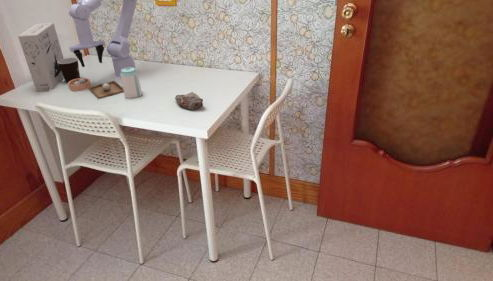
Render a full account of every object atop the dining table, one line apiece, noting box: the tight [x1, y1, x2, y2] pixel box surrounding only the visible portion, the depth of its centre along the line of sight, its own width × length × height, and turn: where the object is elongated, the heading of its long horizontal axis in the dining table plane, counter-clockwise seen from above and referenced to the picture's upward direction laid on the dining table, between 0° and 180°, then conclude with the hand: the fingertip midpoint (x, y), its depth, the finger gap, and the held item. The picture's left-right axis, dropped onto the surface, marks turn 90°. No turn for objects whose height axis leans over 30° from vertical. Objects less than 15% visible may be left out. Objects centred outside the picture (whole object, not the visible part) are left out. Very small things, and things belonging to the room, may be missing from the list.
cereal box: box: [18, 22, 65, 93], centre depth 173 cm, size 22×8×25 cm, turn 6°
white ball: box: [102, 82, 110, 91], centre depth 166 cm, size 3×3×3 cm
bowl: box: [67, 77, 92, 92], centre depth 171 cm, size 9×9×3 cm
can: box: [120, 67, 143, 99], centre depth 159 cm, size 7×7×12 cm
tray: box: [87, 80, 124, 100], centre depth 167 cm, size 12×14×1 cm
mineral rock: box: [174, 91, 204, 110], centre depth 152 cm, size 15×8×4 cm, turn 32°
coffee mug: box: [58, 57, 81, 83], centre depth 179 cm, size 12×9×10 cm
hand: (92, 64), depth 169 cm, fingers open, 7 cm apart
